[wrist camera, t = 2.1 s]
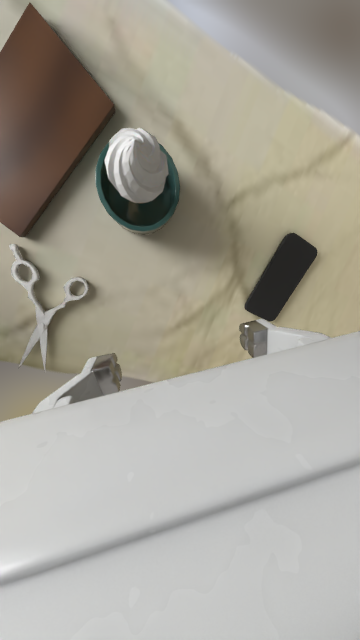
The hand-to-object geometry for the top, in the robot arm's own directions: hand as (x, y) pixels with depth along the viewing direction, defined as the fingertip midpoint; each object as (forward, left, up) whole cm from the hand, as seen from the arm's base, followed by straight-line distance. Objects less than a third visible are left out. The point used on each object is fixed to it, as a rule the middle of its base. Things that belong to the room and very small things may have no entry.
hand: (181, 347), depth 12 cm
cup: (-10, +8, -21) cm, 25 cm away
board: (-23, +3, -21) cm, 32 cm away
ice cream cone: (-10, +8, -21) cm, 25 cm away
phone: (+16, +16, -21) cm, 31 cm away
